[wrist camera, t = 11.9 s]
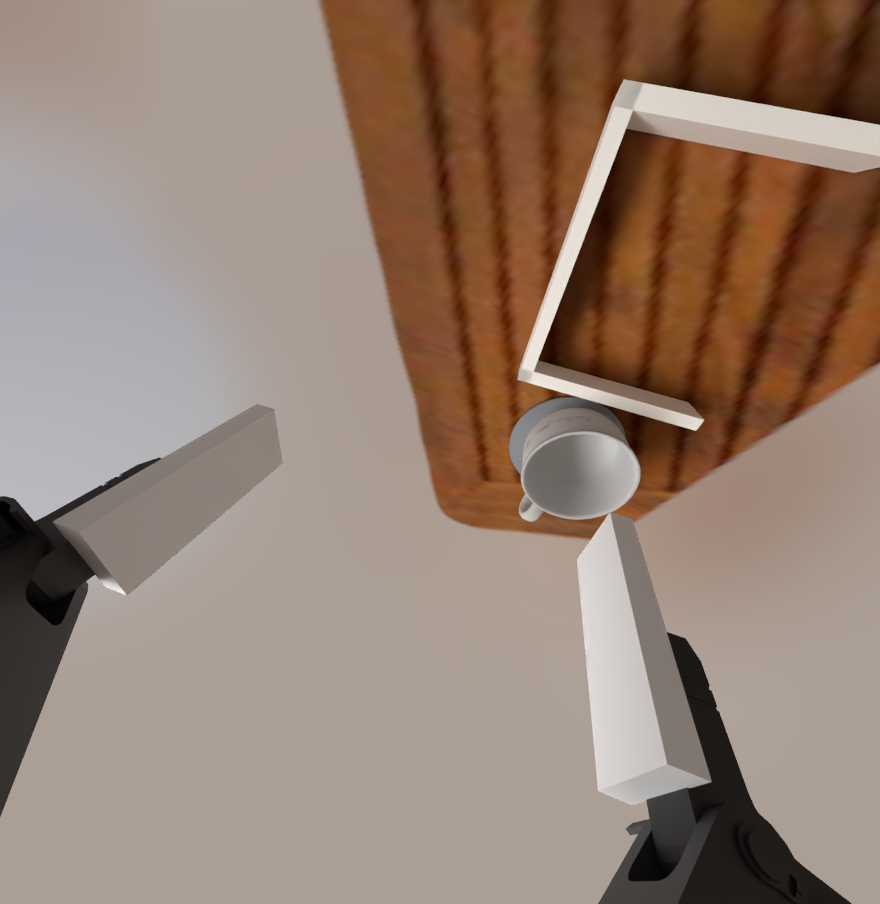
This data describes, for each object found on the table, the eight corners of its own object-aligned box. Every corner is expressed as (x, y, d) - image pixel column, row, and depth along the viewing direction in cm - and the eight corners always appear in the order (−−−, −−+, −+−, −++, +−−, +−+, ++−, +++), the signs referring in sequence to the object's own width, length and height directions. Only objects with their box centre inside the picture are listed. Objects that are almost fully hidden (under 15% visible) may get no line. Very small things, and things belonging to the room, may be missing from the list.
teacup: (582, 376, 34) (591, 409, 27) (646, 444, 36) (668, 490, 29) (487, 450, 41) (476, 488, 35) (544, 502, 43) (544, 548, 37)
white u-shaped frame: (612, 101, 23) (624, 79, 20) (870, 149, 22) (928, 133, 18) (519, 367, 35) (517, 379, 32) (681, 412, 33) (695, 430, 30)
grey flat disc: (530, 382, 36) (530, 384, 35) (649, 416, 34) (651, 418, 34) (496, 470, 43) (496, 473, 43) (593, 501, 42) (593, 504, 41)
